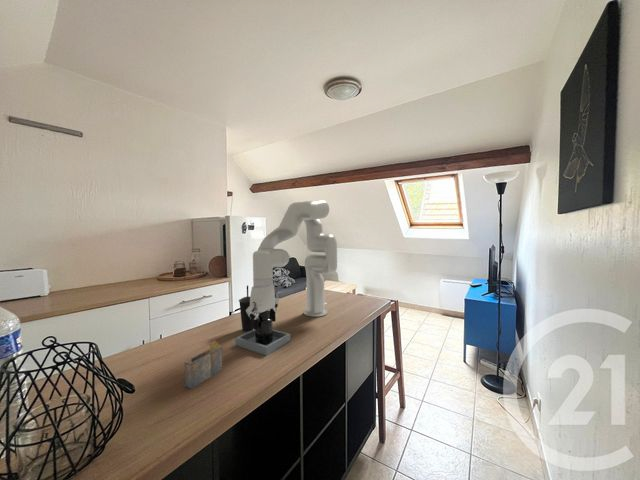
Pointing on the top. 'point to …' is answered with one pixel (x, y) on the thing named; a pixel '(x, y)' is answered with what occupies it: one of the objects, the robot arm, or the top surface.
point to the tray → (250, 344)
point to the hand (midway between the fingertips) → (263, 324)
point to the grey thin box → (203, 365)
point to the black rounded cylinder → (244, 316)
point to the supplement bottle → (264, 329)
